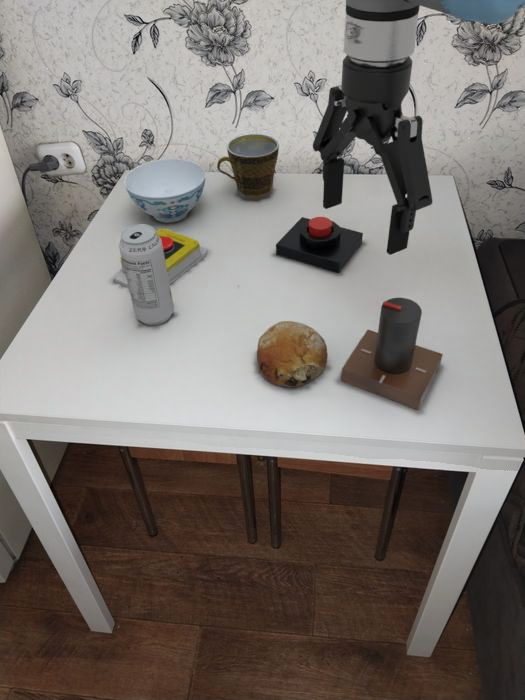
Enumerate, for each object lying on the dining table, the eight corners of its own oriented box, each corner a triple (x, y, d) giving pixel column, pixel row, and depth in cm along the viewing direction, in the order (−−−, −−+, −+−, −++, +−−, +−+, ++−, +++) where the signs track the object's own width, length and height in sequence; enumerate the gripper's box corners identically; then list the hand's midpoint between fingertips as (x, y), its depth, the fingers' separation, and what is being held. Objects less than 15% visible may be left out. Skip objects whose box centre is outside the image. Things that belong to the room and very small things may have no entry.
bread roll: (329, 371, 87) (335, 320, 85) (317, 397, 78) (324, 340, 75) (264, 360, 89) (269, 309, 87) (245, 384, 80) (250, 328, 77)
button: (335, 228, 102) (336, 219, 101) (325, 240, 100) (326, 231, 98) (314, 223, 104) (315, 214, 102) (304, 234, 101) (304, 225, 100)
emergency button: (206, 231, 101) (148, 276, 93) (209, 253, 104) (153, 298, 96) (165, 217, 105) (106, 258, 97) (169, 238, 108) (111, 280, 100)
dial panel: (439, 366, 82) (443, 352, 81) (418, 410, 77) (421, 397, 75) (366, 341, 87) (368, 327, 85) (340, 381, 81) (341, 368, 79)
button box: (362, 243, 105) (363, 223, 102) (338, 273, 99) (340, 253, 96) (301, 227, 109) (302, 208, 107) (276, 254, 103) (275, 235, 101)
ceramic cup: (262, 175, 124) (260, 129, 117) (289, 195, 118) (289, 147, 111) (208, 194, 120) (203, 147, 113) (234, 215, 113) (230, 166, 106)
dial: (416, 355, 80) (427, 302, 74) (404, 378, 77) (414, 325, 71) (382, 343, 82) (389, 291, 76) (368, 366, 79) (375, 313, 73)
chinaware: (215, 195, 119) (211, 158, 114) (201, 235, 109) (197, 198, 103) (142, 193, 121) (136, 157, 115) (122, 233, 110) (114, 196, 105)
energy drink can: (182, 310, 93) (168, 228, 83) (157, 332, 90) (139, 250, 79) (153, 298, 96) (136, 217, 85) (128, 319, 92) (107, 237, 82)
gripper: (286, 35, 70) (287, 196, 85) (432, 98, 55) (404, 282, 69) (336, 24, 73) (330, 181, 88) (490, 80, 57) (451, 261, 72)
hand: (362, 226), depth 78 cm, fingers open, 13 cm apart
